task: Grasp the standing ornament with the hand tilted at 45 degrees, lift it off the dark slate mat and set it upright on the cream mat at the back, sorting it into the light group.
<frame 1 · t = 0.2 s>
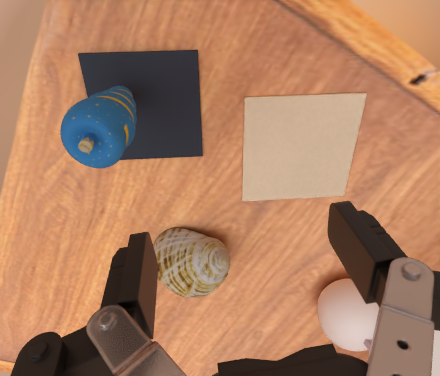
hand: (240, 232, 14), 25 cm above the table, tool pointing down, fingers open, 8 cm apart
seashell: (193, 246, 48), on the table
cream mat: (298, 150, 40), on the table
slate mat: (146, 108, 36), on the table
ornament 2: (338, 286, 55), on the table
ornament: (125, 92, 35), resting on slate mat
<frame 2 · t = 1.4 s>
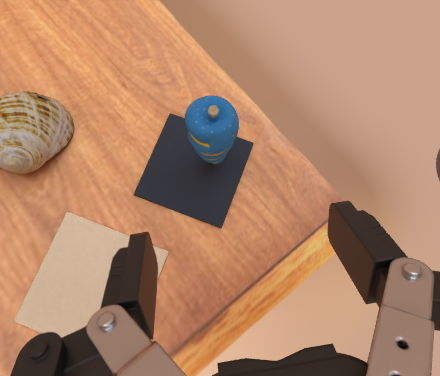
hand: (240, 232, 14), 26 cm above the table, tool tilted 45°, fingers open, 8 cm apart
seashell: (39, 142, 43), on the table
cream mat: (94, 285, 39), on the table
slate mat: (194, 169, 42), on the table
ornament: (214, 160, 42), resting on slate mat
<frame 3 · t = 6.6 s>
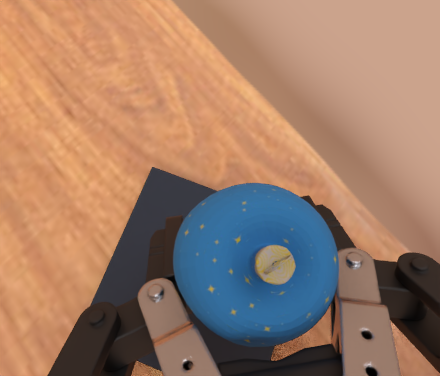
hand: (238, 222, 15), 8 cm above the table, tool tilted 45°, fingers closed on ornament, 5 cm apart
slate mat: (199, 278, 22), on the table
ornament: (237, 261, 22), resting on slate mat, touching gripper
when the fingers open (8 cm above the table, at t = 15.7 s): ornament stays where it is, resting on cream mat.
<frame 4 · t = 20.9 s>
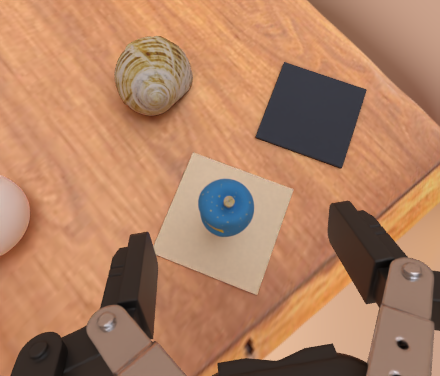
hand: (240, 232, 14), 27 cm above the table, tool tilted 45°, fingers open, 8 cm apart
seashell: (159, 89, 45), on the table
cream mat: (223, 220, 41), on the table
slate mat: (311, 114, 44), on the table
ornament 2: (6, 220, 41), on the table
ornament: (224, 221, 41), resting on cream mat
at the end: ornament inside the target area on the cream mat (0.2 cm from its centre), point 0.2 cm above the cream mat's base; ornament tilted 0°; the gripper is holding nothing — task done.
